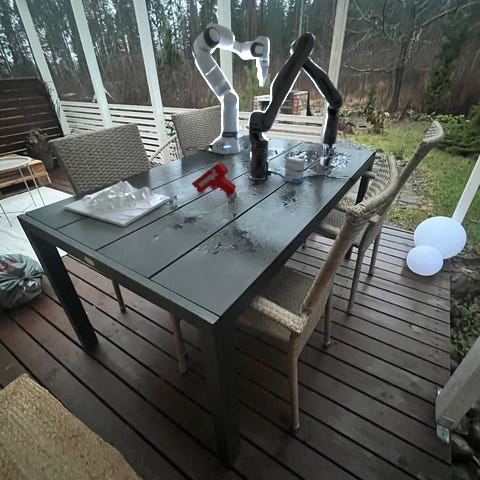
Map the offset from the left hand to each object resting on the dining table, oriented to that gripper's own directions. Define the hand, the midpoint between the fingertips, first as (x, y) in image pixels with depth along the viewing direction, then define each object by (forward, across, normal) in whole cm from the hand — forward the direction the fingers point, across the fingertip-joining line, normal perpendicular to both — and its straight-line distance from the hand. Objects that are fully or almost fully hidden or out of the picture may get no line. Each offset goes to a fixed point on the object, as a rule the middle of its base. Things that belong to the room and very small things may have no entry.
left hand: (261, 86), depth 203 cm
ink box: (+39, +96, +3) cm, 104 cm away
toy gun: (+39, +108, -39) cm, 121 cm away
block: (+38, +75, +28) cm, 88 cm away
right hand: (+37, +75, +28) cm, 88 cm away
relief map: (+39, +116, -82) cm, 147 cm away
